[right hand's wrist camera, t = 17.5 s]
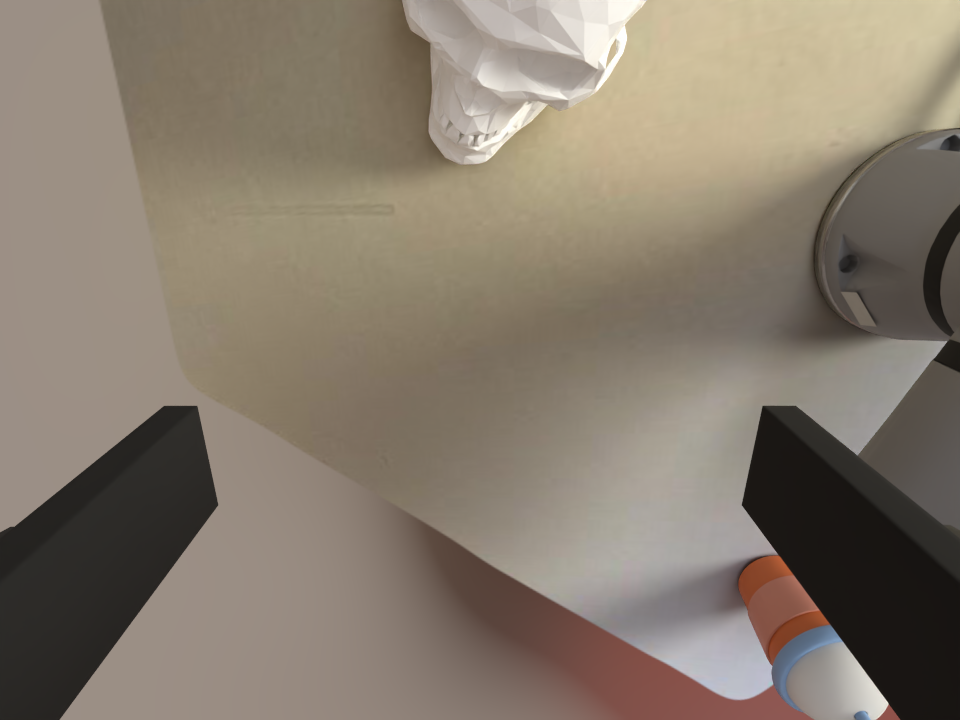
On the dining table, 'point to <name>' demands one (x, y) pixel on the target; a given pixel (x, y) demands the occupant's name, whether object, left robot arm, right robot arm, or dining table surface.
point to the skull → (511, 63)
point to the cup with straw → (805, 648)
